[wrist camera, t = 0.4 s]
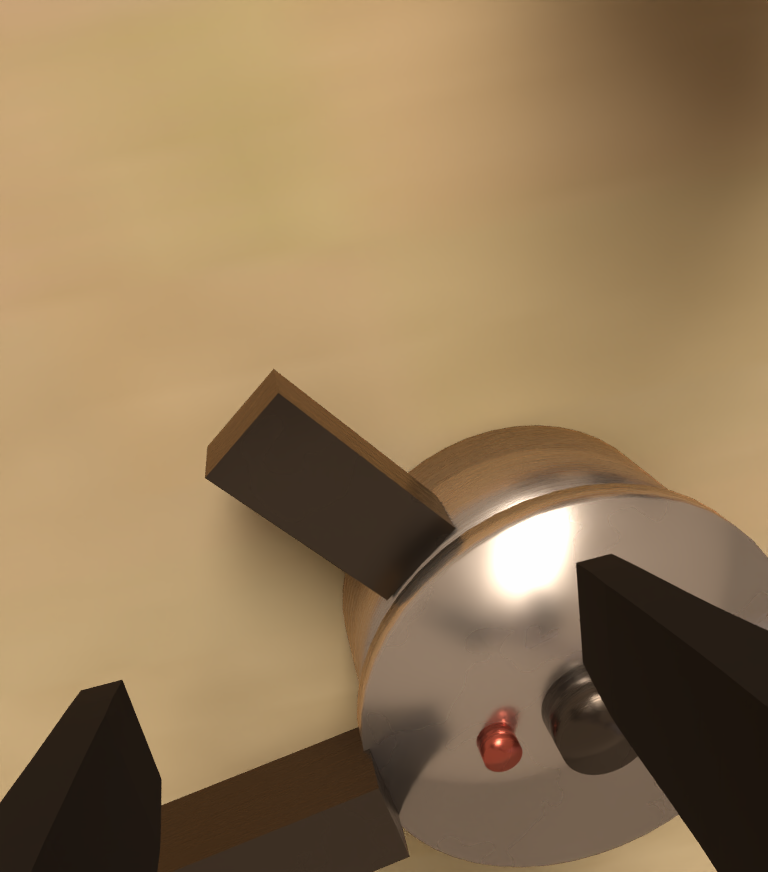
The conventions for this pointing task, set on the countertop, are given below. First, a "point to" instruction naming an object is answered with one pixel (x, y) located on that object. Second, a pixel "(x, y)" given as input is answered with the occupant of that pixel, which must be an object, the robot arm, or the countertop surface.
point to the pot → (388, 490)
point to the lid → (480, 705)
